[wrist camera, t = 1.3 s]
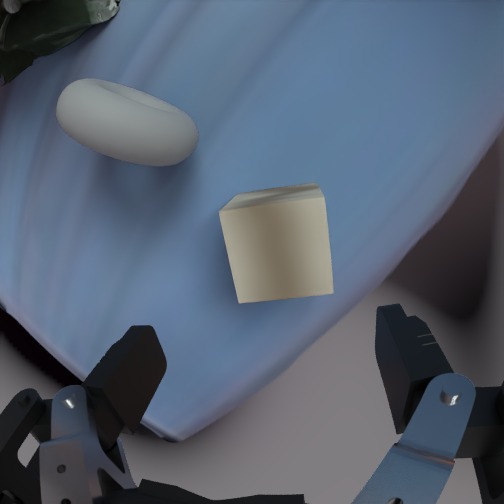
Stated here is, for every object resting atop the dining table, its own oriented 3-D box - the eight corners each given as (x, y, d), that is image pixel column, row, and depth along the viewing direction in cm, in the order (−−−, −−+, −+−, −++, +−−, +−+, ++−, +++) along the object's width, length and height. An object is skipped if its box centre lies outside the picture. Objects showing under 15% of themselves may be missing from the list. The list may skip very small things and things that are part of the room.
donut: (106, 117, 21) (20, 119, 12) (122, 81, 20) (39, 65, 11) (202, 167, 22) (140, 190, 13) (223, 128, 21) (171, 121, 12)
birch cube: (316, 182, 21) (324, 196, 16) (325, 257, 23) (333, 293, 18) (237, 193, 23) (218, 211, 17) (251, 266, 25) (238, 303, 19)
